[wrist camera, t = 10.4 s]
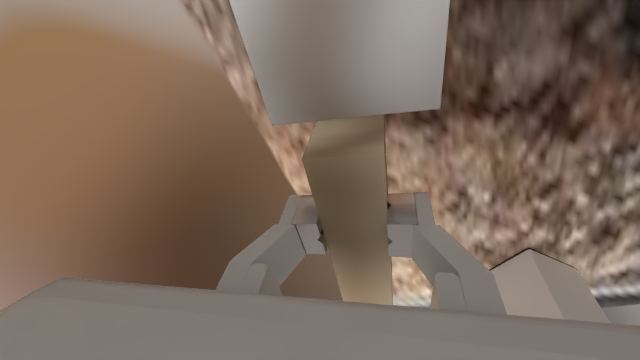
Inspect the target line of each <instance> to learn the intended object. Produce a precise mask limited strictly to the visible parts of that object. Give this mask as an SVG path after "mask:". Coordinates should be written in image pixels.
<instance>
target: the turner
mask: <svg viewBox="0 0 640 360" xmlns="http://www.w3.org/2000/svg"><path fill="white" fill-rule="evenodd" d="M229 2H230V4H231V7H232V10H233V13H234V16H235V19H236V22H237V25H238V28H239V31H240V34H241V36H242V39H243V42H244V45H245V48H246V51H247V54H248V57H249V60H250V63H251V66H252V68H253V71H254V74H255V77H256V80H257V83H258V86H259V89H260V92H261V95H262V98H263V100H264V103H265V106H266V109H267V112H268V115H269V118H270V121H271V124H272V125H282V124H292V123H302V122H312V121H317V122H316V124H315V127H314V129H313V132H312V135H311V137H310V140H309V142H308V145H307V147H306V150H305V152H304V155H303V157H302V161H303V164H304V168H305V171H306V175H307V178H308V181H309V185H310V188H311V192H312V195H313V199H314V202H315V205H316V209H317V212H318V216H319V219H320V222H321V225H322V229H323V233H324V235H325V239H326V242H327V247H328V250H329V253H330V257H331V260H332V264H333V267H334V270H335V274H336V277H337V281H338V284H339V288H340V291H341V295H342V298H343V301H349V302H361V303H373V304H385V305H393V294H392V261H391V256H389V247H388V231H387V209H388V208H387V194H388V183H387V163H386V143H385V124H384V114H392V113H402V112H412V111H423V110H433V109H440V106H441V94H442V83H443V72H444V61H445V50H446V39H447V28H448V17H449V5H450V0H229Z"/></svg>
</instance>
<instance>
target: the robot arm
mask: <svg viewBox="0 0 640 360" xmlns="http://www.w3.org/2000/svg"><path fill="white" fill-rule="evenodd" d="M387 208H388V209H387V231H388V247H389V256H392V257H408V258H413V260H414V262H415V263H416V264H417V266H418V267H419V268H420V270H421V271H422V272H423V274H424V275H425V276H426V278H427V279H428V281H429V282H430V283H431V285H432V286H433V291H432V299H431V306H430V308H421V307H409V306H397V305H385V304H373V303H361V302H349V301H336V300H324V299H312V298H300V297H287V296H283V294H282V292H281V290H280V289H279V286H280V285H281V284H282V283H283V281H284V280H285V279H286V278H287V277H288V276H289V274H290V273H291V272H292V271H293V270H294V268H295V267H296V266H297V265H298V264H299V263H300V261H301V260H302V259H303V258H304V257H305V256H306V254H326V250H327V242H326V239H325V235H324V233H323V229H322V225H321V222H320V219H319V216H318V212H317V209H316V205H315V202H314V199H313V195H302V196H292V195H291V196H290V197H289V198H288V201H287V204H286V206H285V208H284V211H283V213H282V216H281V219H280V221H279V224H275V225H274V226H272V227H271V228H270V229H269V230H268V231H266V232H265V233H264V234H263V235H262V236H260V237H259V238H258V239H257V240H255V241H254V242H253V243H252V244H250V245H249V246H248V247H247V248H245V249H244V250H243V251H242V252H240V253H239V254H238V255H237V256H236V257H234V258H233V259H232V260H231V261H230V262H229V264H228V266H227V268H226V270H225V273H224V274H223V276H222V278H221V280H220V282H219V284H218V286H217V288H216V290H203V289H192V288H179V287H167V286H155V285H144V284H132V283H120V282H108V281H97V280H84V279H74V278H61V279H58V280H55V281H53V282H51V283H49V284H47V285H45V286H43V287H41V288H39V289H37V290H35V291H33V292H31V293H30V294H28V295H27V296H24V297H23V298H21V299H19V300H17V301H16V302H14V303H12V304H11V305H9V306H7V307H5V308H4V309H2V310H1V311H0V360H640V326H638V325H637V326H636V325H626V324H614V323H602V322H590V321H578V320H565V319H553V318H541V317H529V316H517V315H507V312H506V309H505V306H504V304H503V301H502V298H501V295H500V292H499V289H498V286H497V283H496V280H495V278H494V275H493V273H492V272H490V271H489V270H488V269H487V268H486V267H485V266H484V265H483V264H482V263H480V262H479V261H478V260H477V259H476V258H475V257H474V256H473V255H472V254H471V253H469V252H468V251H467V250H466V249H465V248H464V247H463V246H462V245H461V244H460V243H458V242H457V241H456V240H455V239H454V238H453V237H452V236H451V235H450V234H448V233H447V232H446V231H445V230H444V229H443V228H442V227H441V226H439V225H435V222H434V217H433V212H432V207H431V202H430V196H429V193H428V192H418V193H392V194H387Z"/></svg>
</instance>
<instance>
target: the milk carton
mask: <svg viewBox="0 0 640 360" xmlns="http://www.w3.org/2000/svg"><path fill="white" fill-rule="evenodd" d="M490 272H492V273H493V275H494V278H495V280H496V283H497V286H498V289H499V292H500V295H501V298H502V301H503V304H504V306H505V309H506V312H507V315H517V316H529V317H541V318H553V319H565V320H578V321H590V322H602V323H610V322H609V320H608V318H607V317H606V315H605V314H604V312H603V311H602V309H601V307H600V306H599V304H598V303H597V301H596V300H595V298H594V296H593V295H592V293H591V292H590V290H589V289H588V287H587V285H586V284H585V282H584V281H583V279H582V277H581V276H580V274H579V273H578V271H577V270H576V269H575V268H573V267H571V266H568V265H566V264H564V263H561V262H559V261H557V260H554V259H552V258H550V257H547V256H545V255H543V254H540V253H538V252H536V251H533V250H531V249H528V250H526V251H524V252H522V253H521V254H519V255H517V256H515V257H513V258H512V259H510V260H508V261H506V262H505V263H503V264H501V265H499V266H498V267H496V268H494V269H492V270H491V271H490Z"/></svg>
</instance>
